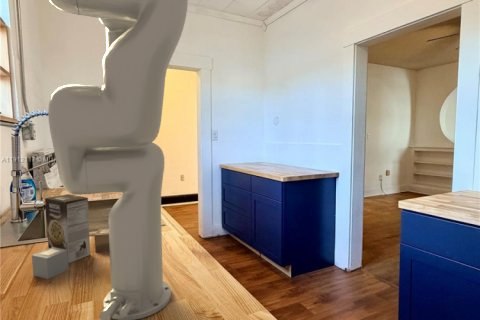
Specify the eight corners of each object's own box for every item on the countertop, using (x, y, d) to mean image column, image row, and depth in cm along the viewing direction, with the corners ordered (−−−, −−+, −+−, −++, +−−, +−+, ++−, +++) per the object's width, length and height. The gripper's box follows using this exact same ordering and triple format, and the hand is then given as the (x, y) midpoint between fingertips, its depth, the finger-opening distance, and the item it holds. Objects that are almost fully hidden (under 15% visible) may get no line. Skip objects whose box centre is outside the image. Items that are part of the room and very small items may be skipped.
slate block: (48, 279, 64) (46, 258, 63) (33, 275, 65) (31, 254, 65) (68, 269, 68) (67, 249, 68) (54, 266, 70) (52, 246, 70)
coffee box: (47, 256, 75) (43, 197, 74) (71, 248, 81) (68, 193, 79) (67, 264, 71) (64, 201, 69) (91, 254, 77) (88, 196, 75)
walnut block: (114, 250, 79) (113, 233, 79) (95, 252, 78) (94, 234, 78) (117, 244, 84) (116, 227, 84) (99, 245, 83) (98, 228, 82)
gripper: (154, 60, 79) (156, 126, 80) (104, 61, 80) (107, 126, 82) (142, 52, 71) (145, 125, 73) (87, 54, 73) (91, 125, 74)
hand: (125, 125), depth 77 cm, fingers closed
